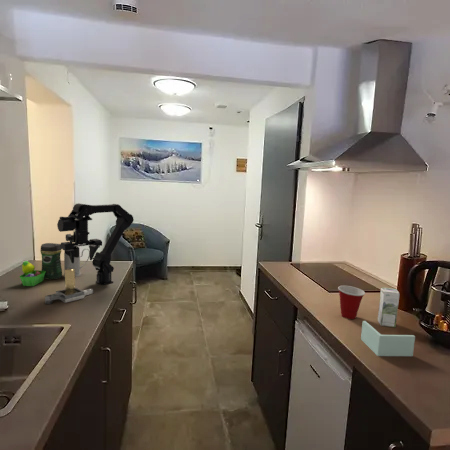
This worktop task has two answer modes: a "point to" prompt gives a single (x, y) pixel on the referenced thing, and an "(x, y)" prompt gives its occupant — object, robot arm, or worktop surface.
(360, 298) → the plastic cup
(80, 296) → the ball-tipped frame bar
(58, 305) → the worktop surface
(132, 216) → the robot arm
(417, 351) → the worktop surface
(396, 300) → the syrup box
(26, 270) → the fruit basket
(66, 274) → the brass pin
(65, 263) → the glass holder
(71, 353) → the worktop surface
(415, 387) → the worktop surface
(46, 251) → the coffee jar
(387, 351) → the l-shaped corner panel
